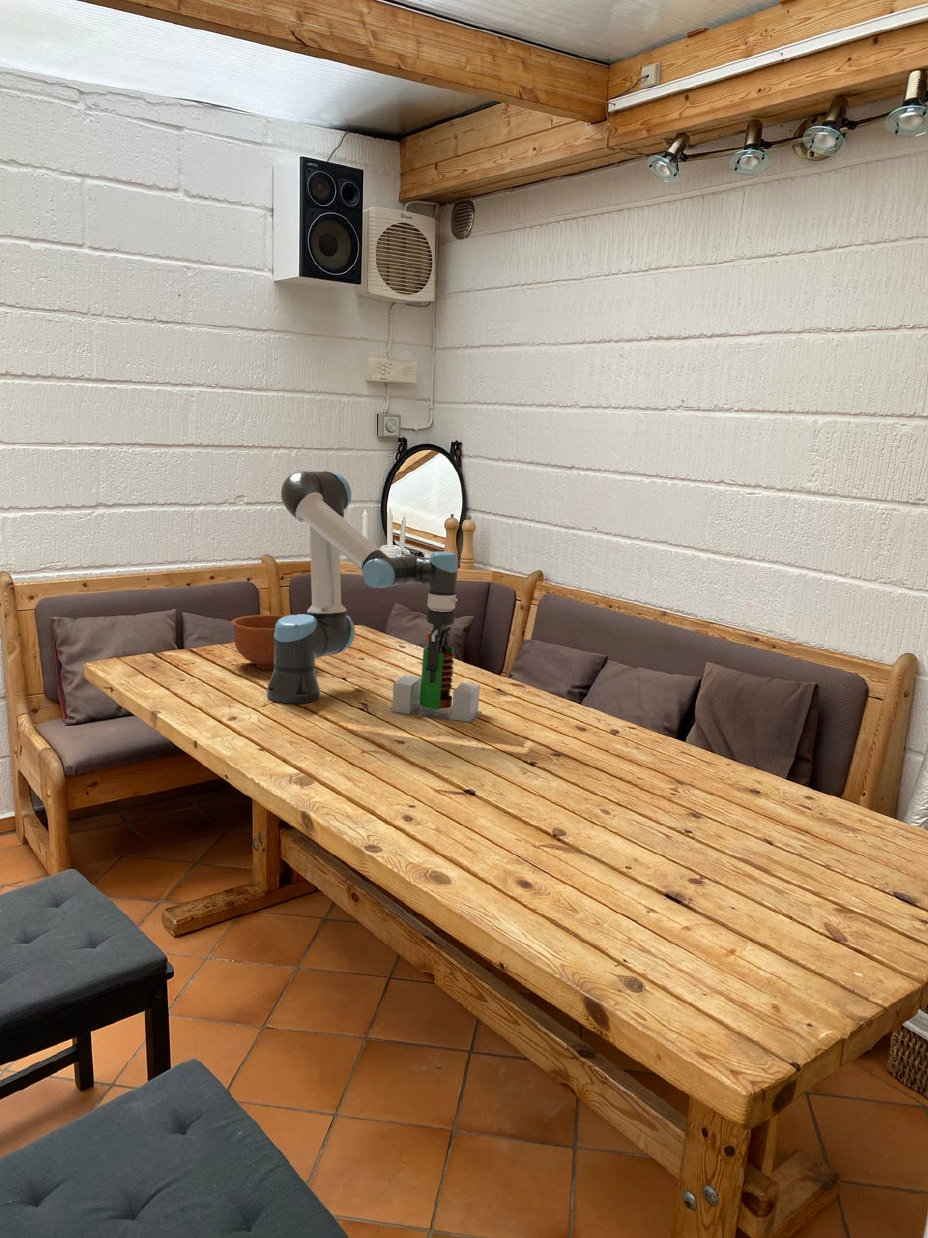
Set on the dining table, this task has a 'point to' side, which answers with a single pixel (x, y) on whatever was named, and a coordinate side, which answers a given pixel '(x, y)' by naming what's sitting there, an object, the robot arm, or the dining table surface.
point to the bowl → (256, 638)
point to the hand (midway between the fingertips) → (436, 690)
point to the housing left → (406, 694)
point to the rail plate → (436, 713)
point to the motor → (437, 680)
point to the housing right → (465, 701)
